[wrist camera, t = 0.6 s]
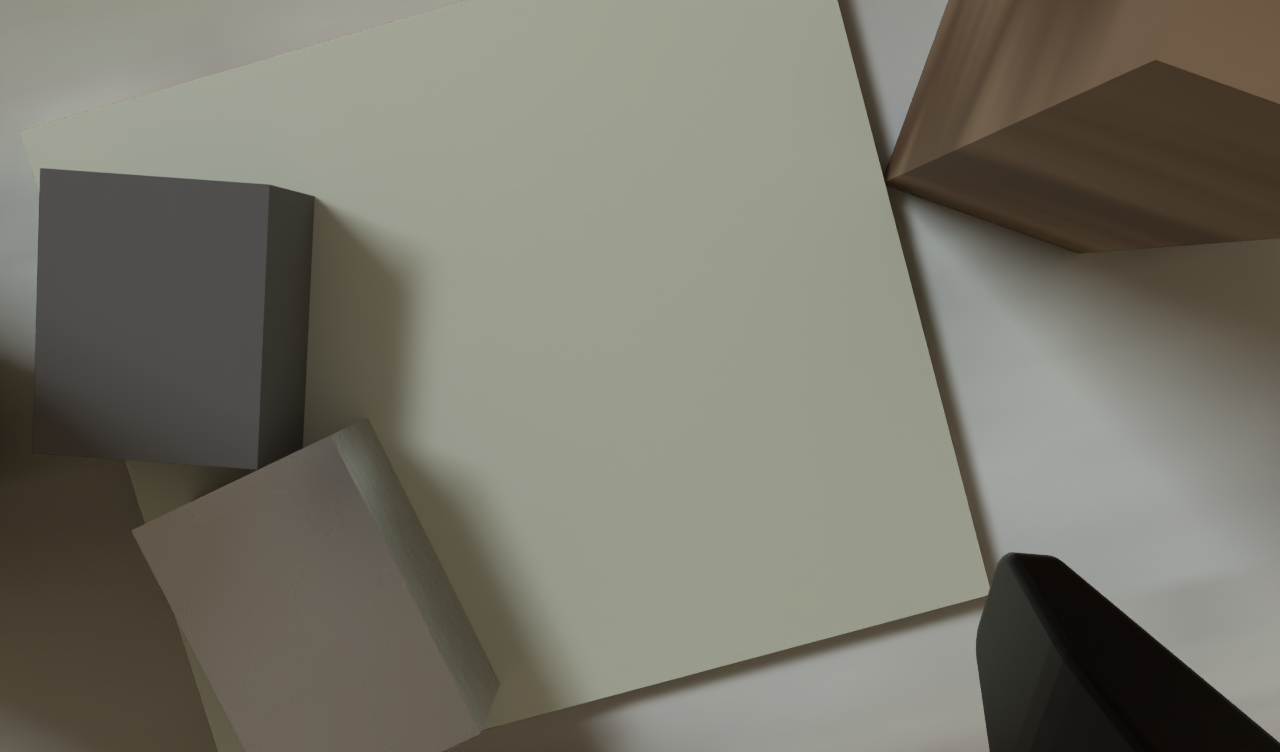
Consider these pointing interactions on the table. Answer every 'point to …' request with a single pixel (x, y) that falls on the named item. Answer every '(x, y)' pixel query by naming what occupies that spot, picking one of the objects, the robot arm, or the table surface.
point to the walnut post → (1101, 120)
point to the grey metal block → (323, 607)
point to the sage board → (596, 323)
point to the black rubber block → (171, 319)
